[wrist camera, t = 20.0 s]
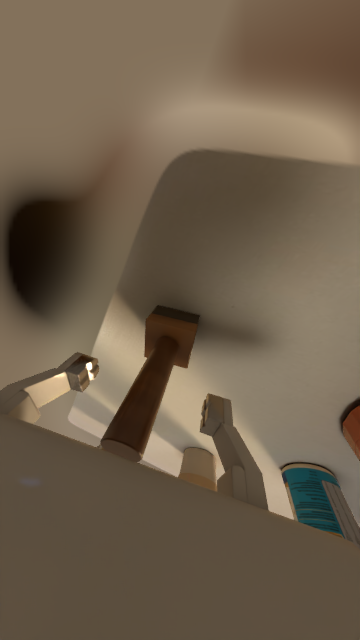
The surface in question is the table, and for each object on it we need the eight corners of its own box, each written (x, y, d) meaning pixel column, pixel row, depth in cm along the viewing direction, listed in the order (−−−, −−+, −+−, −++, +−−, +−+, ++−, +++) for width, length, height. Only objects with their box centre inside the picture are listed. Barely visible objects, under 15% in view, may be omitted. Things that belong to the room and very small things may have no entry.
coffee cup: (194, 466, 37) (182, 588, 24) (171, 446, 35) (144, 571, 22) (228, 465, 33) (235, 610, 20) (205, 443, 31) (197, 593, 18)
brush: (157, 305, 18) (67, 412, 7) (200, 314, 17) (171, 447, 7) (154, 338, 20) (85, 455, 10) (191, 348, 20) (161, 482, 9)
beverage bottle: (346, 472, 26) (603, 949, 9) (317, 487, 30) (449, 824, 13) (293, 456, 27) (426, 854, 10) (272, 473, 31) (338, 768, 14)
